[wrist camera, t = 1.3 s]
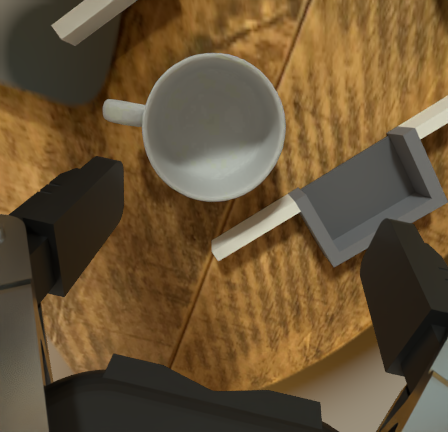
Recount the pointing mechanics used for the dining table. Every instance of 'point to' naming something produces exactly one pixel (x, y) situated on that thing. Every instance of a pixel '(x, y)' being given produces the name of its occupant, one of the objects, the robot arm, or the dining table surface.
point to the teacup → (209, 126)
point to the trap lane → (330, 182)
